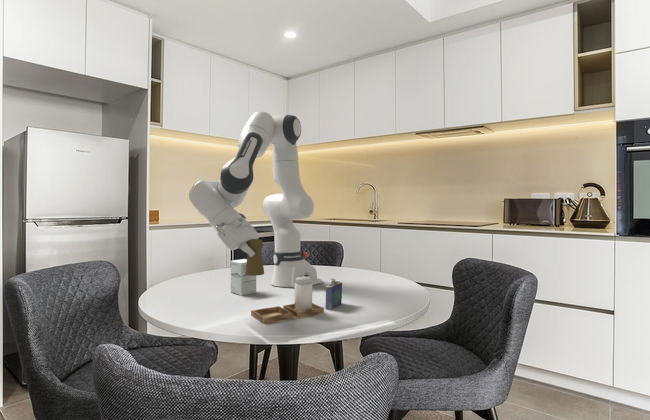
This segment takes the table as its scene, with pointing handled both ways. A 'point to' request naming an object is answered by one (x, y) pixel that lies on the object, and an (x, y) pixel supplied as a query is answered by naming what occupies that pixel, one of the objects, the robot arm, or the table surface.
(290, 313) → the caddy
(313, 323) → the table surface
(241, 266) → the supplement box
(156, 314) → the table surface
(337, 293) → the flask
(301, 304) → the salt shaker
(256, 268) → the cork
